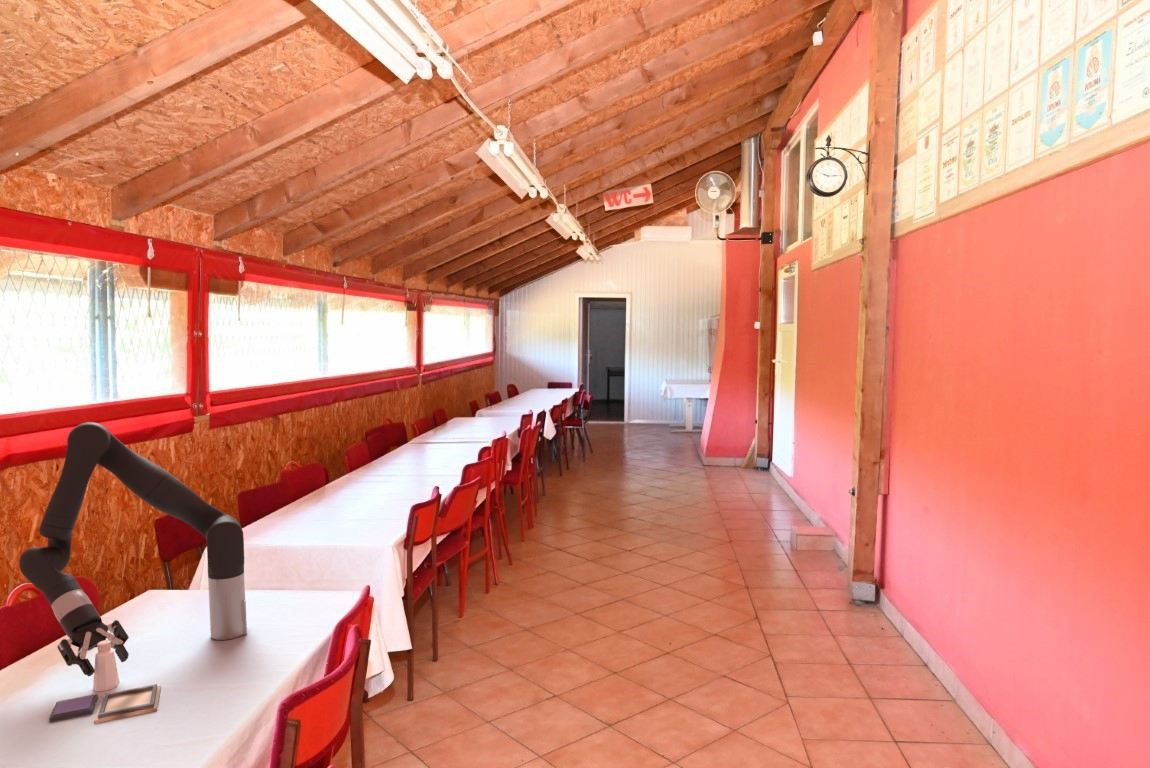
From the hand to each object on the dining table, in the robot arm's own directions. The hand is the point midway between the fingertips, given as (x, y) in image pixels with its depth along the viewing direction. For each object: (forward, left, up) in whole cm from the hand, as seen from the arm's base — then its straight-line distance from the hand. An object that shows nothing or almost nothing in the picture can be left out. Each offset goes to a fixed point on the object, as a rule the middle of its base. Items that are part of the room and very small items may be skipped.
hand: (109, 666), depth 177 cm
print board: (-5, +12, -5) cm, 14 cm away
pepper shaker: (+1, -1, -5) cm, 6 cm away
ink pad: (+6, +9, -5) cm, 12 cm away
